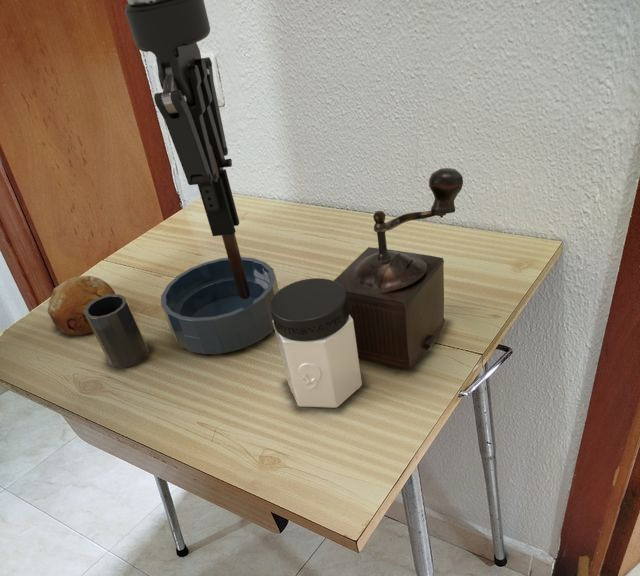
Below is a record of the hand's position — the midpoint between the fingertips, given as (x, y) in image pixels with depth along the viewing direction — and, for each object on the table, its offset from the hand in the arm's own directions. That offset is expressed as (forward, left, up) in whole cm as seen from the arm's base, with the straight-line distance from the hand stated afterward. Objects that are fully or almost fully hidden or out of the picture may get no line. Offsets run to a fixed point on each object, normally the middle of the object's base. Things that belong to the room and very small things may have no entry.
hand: (226, 229), depth 72 cm
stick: (0, 0, -10) cm, 10 cm away
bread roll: (-26, +4, -14) cm, 30 cm away
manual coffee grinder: (+21, -3, -14) cm, 25 cm away
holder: (-16, -6, -14) cm, 22 cm away
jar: (+12, -14, -14) cm, 23 cm away
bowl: (-3, 0, -14) cm, 14 cm away
